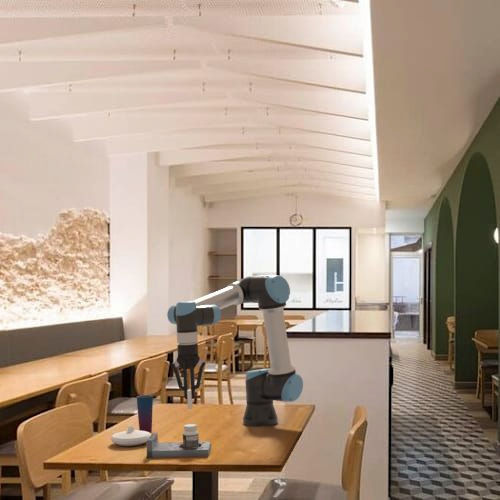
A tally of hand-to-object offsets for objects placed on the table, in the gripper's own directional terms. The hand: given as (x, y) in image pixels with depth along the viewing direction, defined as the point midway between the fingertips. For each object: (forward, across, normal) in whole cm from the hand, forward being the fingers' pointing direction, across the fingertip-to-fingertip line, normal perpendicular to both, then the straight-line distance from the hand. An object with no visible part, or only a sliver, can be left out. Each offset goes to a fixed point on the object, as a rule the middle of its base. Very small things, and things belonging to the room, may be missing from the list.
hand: (190, 407), depth 264 cm
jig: (+16, +4, +1) cm, 17 cm away
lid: (+16, +26, -16) cm, 34 cm away
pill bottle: (+16, 0, 0) cm, 16 cm away
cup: (+17, +24, -37) cm, 47 cm away
